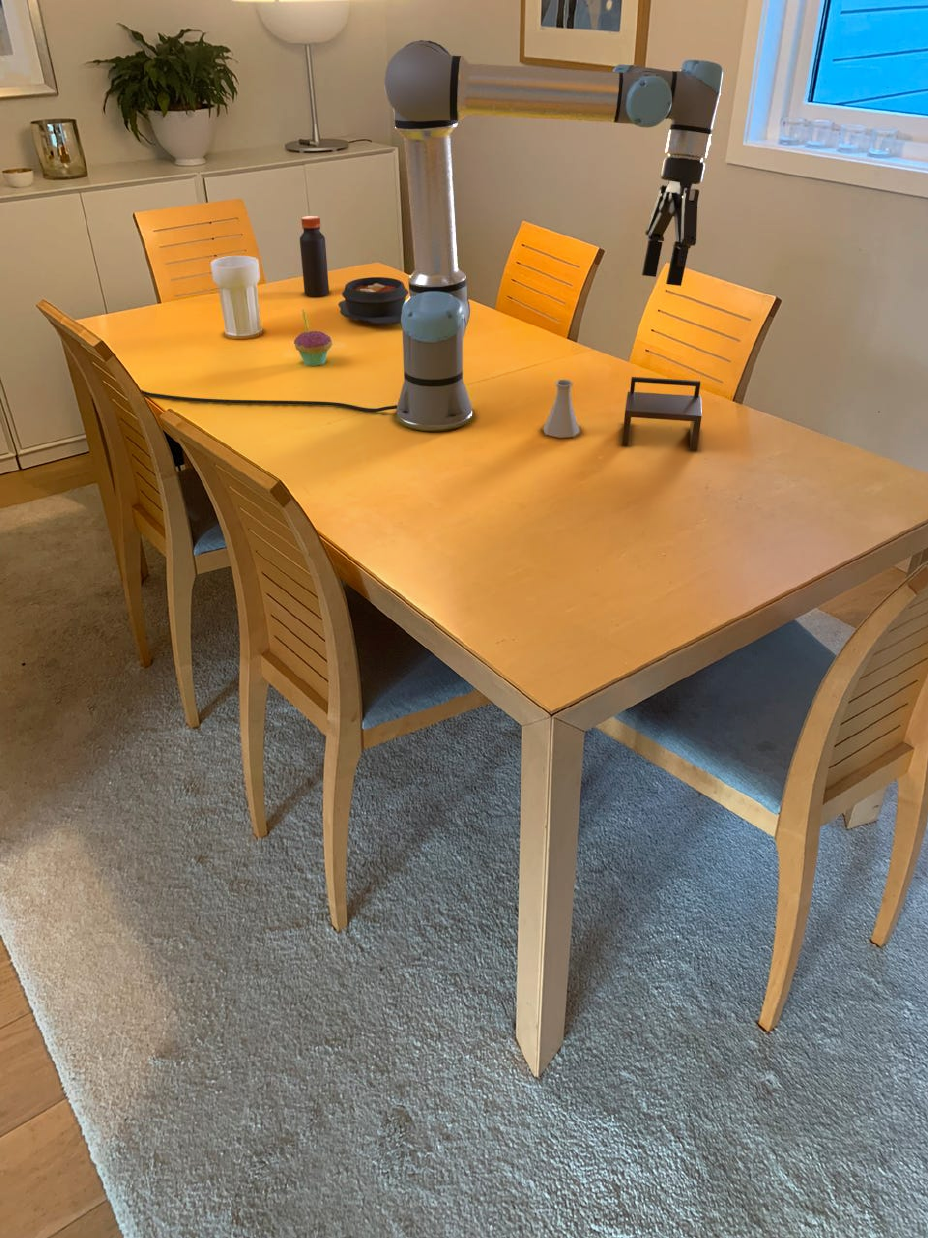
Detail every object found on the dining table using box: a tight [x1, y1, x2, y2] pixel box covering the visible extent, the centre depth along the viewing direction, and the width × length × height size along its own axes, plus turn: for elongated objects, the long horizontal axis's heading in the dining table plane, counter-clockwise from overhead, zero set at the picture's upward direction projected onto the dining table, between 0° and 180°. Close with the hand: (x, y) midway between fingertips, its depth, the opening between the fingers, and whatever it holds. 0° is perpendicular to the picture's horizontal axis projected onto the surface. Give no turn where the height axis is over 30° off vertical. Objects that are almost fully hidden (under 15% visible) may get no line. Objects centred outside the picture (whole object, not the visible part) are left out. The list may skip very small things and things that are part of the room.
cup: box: [209, 255, 263, 340], centre depth 235 cm, size 11×11×17 cm
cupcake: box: [293, 308, 333, 367], centre depth 219 cm, size 9×8×12 cm
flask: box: [542, 379, 580, 439], centre depth 186 cm, size 7×7×10 cm
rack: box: [621, 376, 703, 452], centre depth 184 cm, size 14×10×10 cm
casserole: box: [337, 276, 409, 325], centre depth 248 cm, size 25×19×8 cm
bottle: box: [299, 215, 330, 298], centre depth 263 cm, size 7×7×20 cm
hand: (660, 280), depth 185 cm, fingers open, 13 cm apart
